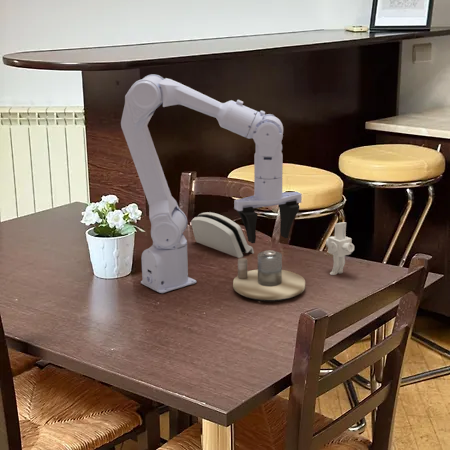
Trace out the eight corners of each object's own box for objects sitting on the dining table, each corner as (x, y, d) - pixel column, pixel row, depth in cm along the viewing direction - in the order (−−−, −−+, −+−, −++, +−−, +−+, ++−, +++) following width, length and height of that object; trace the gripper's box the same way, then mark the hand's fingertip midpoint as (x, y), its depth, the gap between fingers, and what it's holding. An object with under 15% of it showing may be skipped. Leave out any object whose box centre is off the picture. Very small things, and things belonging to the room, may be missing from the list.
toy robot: (344, 281, 167) (346, 228, 163) (320, 270, 173) (322, 219, 169) (357, 277, 169) (359, 224, 165) (333, 267, 175) (335, 216, 171)
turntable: (290, 304, 153) (291, 280, 151) (221, 293, 159) (221, 270, 157) (314, 278, 166) (315, 256, 164) (249, 269, 172) (249, 248, 170)
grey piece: (255, 253, 185) (244, 218, 180) (241, 264, 182) (230, 229, 178) (210, 237, 197) (199, 204, 192) (197, 247, 195) (185, 213, 190)
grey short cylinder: (278, 287, 159) (279, 257, 157) (255, 285, 160) (255, 255, 158) (283, 278, 163) (284, 249, 161) (260, 276, 164) (260, 247, 162)
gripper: (290, 168, 164) (289, 229, 168) (227, 175, 159) (228, 238, 163) (307, 175, 158) (305, 238, 162) (242, 183, 152) (242, 248, 156)
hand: (268, 239), depth 162 cm, fingers open, 7 cm apart
